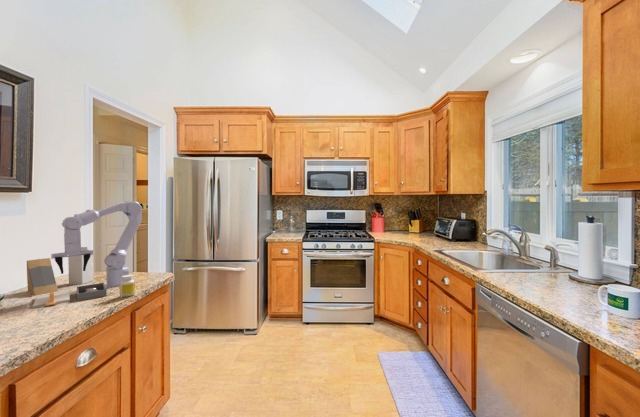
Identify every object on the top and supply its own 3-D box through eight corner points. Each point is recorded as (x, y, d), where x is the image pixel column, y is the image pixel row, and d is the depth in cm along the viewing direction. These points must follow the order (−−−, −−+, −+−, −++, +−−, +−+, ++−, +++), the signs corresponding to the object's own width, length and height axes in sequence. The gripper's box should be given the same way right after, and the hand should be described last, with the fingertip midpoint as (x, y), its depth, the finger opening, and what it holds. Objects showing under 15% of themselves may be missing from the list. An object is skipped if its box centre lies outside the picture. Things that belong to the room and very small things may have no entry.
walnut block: (97, 293, 130) (97, 289, 130) (97, 296, 127) (97, 291, 127) (85, 295, 127) (85, 291, 127) (86, 298, 124) (86, 293, 124)
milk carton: (82, 284, 146) (81, 248, 146) (68, 284, 146) (67, 248, 146) (93, 281, 153) (92, 246, 153) (80, 281, 153) (79, 246, 153)
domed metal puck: (96, 290, 135) (96, 286, 135) (96, 292, 132) (96, 288, 132) (85, 292, 133) (85, 288, 133) (85, 294, 129) (85, 290, 129)
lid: (70, 294, 132) (69, 283, 132) (69, 304, 119) (69, 292, 119) (36, 299, 124) (35, 288, 124) (31, 310, 111) (31, 298, 111)
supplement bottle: (137, 296, 128) (137, 275, 128) (124, 300, 123) (124, 277, 123) (130, 294, 130) (129, 273, 130) (117, 298, 125) (116, 276, 125)
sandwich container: (34, 297, 127) (33, 264, 127) (26, 291, 136) (26, 260, 136) (59, 292, 134) (58, 261, 134) (51, 287, 143) (50, 257, 143)
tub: (104, 289, 138) (103, 282, 138) (106, 297, 127) (106, 289, 127) (76, 294, 131) (76, 286, 131) (77, 302, 121) (77, 294, 121)
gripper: (50, 245, 123) (51, 276, 123) (93, 242, 132) (94, 270, 133) (51, 243, 128) (52, 273, 129) (92, 240, 138) (93, 268, 138)
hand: (73, 272), depth 131 cm, fingers open, 7 cm apart
